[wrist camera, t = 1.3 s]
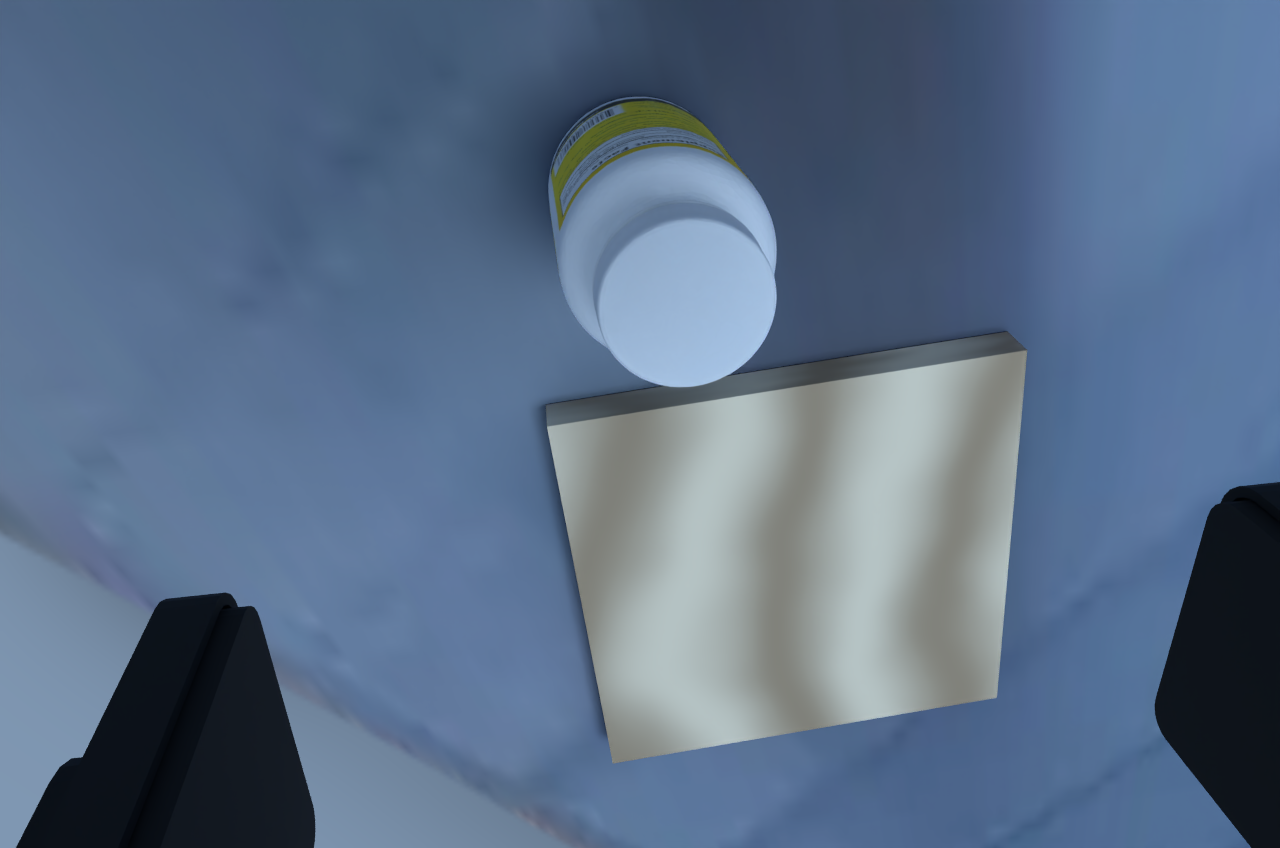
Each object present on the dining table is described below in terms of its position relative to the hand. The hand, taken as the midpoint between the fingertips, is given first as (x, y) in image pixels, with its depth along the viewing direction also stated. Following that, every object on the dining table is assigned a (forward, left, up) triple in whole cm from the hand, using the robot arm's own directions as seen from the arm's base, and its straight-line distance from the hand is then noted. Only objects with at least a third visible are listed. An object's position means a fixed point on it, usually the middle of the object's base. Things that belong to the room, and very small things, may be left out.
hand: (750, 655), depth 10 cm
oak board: (-5, +17, -22) cm, 28 cm away
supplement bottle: (-1, +2, -22) cm, 22 cm away
